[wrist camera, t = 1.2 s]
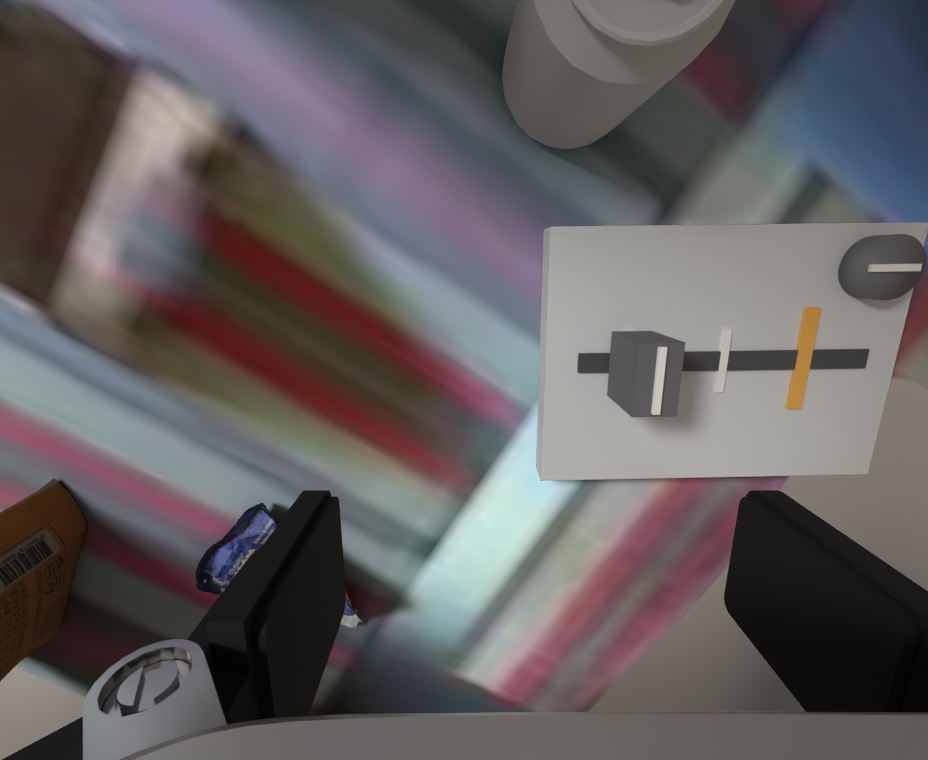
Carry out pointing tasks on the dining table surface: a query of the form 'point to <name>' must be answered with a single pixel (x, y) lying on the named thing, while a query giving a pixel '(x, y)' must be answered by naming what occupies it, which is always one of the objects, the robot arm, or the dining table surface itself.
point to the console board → (724, 345)
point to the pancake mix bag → (36, 569)
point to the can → (598, 60)
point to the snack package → (246, 556)
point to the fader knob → (645, 373)
